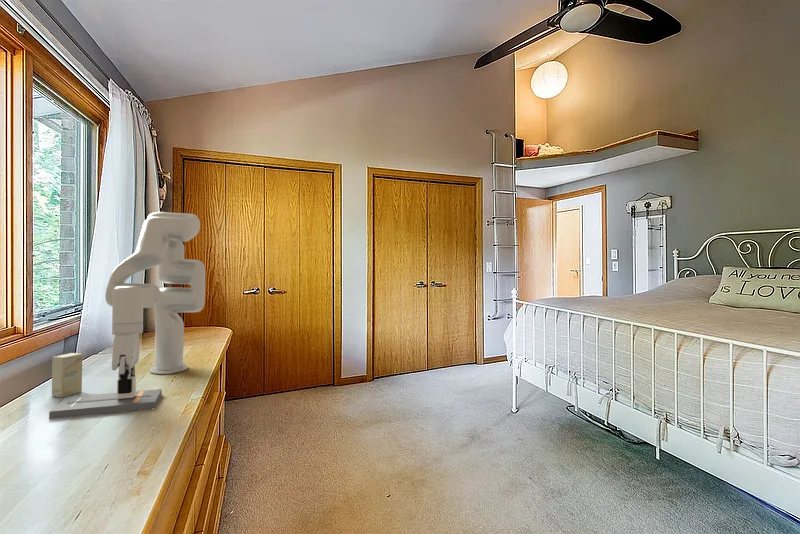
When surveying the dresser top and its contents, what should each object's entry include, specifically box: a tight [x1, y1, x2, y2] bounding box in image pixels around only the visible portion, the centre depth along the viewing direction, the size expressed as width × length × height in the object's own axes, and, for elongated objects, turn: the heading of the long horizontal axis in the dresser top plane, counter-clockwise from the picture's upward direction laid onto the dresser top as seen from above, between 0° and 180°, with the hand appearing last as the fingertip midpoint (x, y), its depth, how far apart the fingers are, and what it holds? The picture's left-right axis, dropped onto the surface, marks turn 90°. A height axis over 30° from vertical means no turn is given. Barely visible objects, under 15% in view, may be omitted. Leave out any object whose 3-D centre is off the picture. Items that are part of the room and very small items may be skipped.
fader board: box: [48, 388, 163, 420], centre depth 116 cm, size 12×24×2 cm, turn 112°
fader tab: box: [116, 375, 137, 399], centre depth 118 cm, size 3×4×5 cm
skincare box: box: [51, 352, 83, 398], centre depth 125 cm, size 6×4×12 cm
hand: (126, 390), depth 118 cm, fingers closed on fader tab, 3 cm apart
